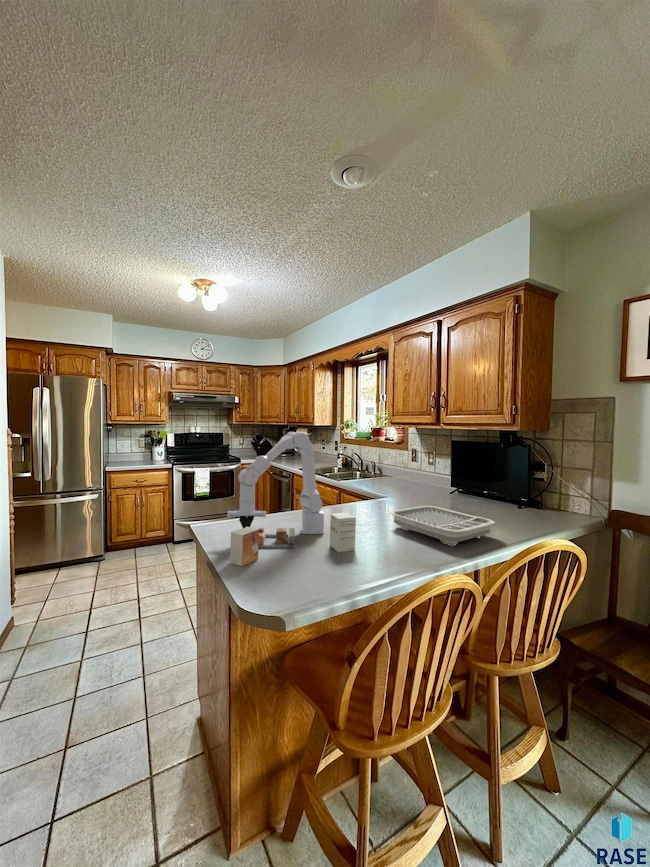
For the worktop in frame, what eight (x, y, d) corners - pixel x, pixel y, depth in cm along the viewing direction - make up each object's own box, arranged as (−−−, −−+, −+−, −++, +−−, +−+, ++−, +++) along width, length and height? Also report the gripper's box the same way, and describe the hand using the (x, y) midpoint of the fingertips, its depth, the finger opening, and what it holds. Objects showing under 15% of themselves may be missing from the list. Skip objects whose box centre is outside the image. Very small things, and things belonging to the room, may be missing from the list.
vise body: (294, 536, 145) (294, 526, 145) (294, 548, 132) (294, 537, 132) (252, 536, 143) (252, 527, 143) (248, 548, 130) (248, 537, 130)
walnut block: (286, 540, 140) (286, 528, 140) (286, 544, 136) (286, 531, 136) (276, 540, 139) (276, 528, 139) (275, 544, 135) (276, 531, 135)
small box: (241, 567, 114) (242, 535, 113) (229, 563, 117) (230, 532, 116) (258, 559, 121) (259, 529, 120) (247, 555, 124) (247, 526, 123)
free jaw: (265, 537, 142) (265, 525, 142) (263, 546, 132) (263, 533, 132) (259, 537, 142) (259, 525, 142) (257, 546, 132) (257, 533, 132)
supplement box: (329, 546, 135) (330, 513, 134) (346, 543, 138) (347, 511, 137) (337, 552, 128) (338, 518, 128) (355, 550, 131) (356, 516, 131)
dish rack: (428, 518, 179) (429, 502, 178) (500, 539, 149) (500, 520, 148) (384, 528, 160) (385, 510, 160) (455, 554, 130) (456, 533, 130)
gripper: (266, 498, 140) (266, 531, 141) (229, 498, 139) (229, 531, 139) (265, 502, 133) (264, 537, 134) (226, 502, 132) (226, 537, 132)
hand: (246, 535), depth 136 cm, fingers closed
